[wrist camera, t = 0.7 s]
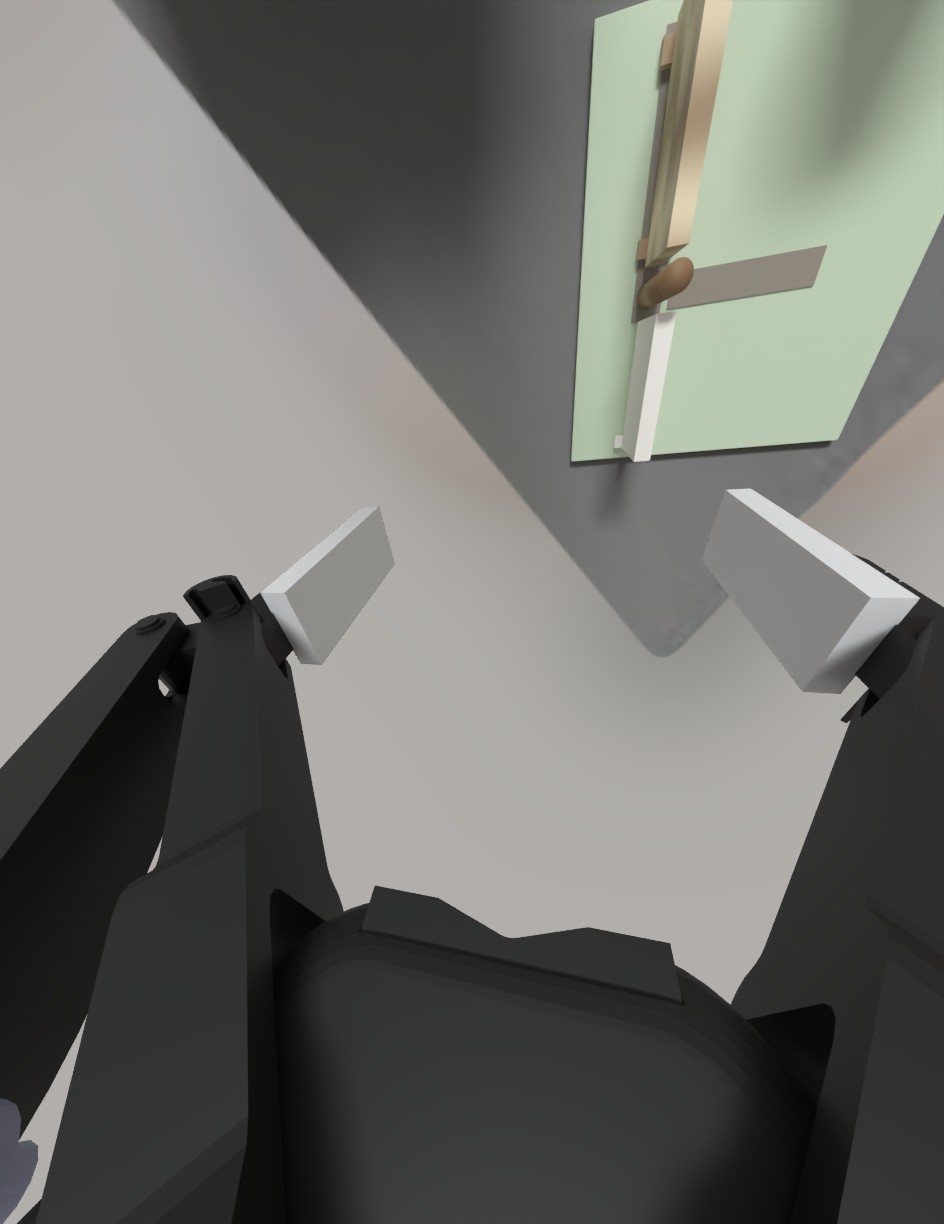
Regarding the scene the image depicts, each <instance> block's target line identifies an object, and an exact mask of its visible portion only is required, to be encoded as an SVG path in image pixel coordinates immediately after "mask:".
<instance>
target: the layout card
mask: <svg viewBox="0 0 944 1224" xmlns="http://www.w3.org/2000/svg"><path fill="white" fill-rule="evenodd" d="M683 1H684V0H649V1H646V2H643V3H640V4H637V5H635V6H632V7H629V8H626V9H623V10H620V11H617V12H614V13H611V14H608V15H605V16H602V17H599V18H596V19H595V23H594V34H593V53H592V72H591V91H590V110H589V129H588V148H587V167H586V186H585V205H584V224H583V243H582V262H581V281H580V300H579V319H578V338H577V357H576V376H575V394H574V413H573V432H572V451H571V461H583V460H595V459H607V458H620V457H629V456H628V455H627V454H626V452H625V451H624V450H623V449H622V448H614V441H615V436H616V435H623V430H624V423H625V415H626V408H627V400H628V392H629V385H630V377H631V370H632V362H633V355H634V347H635V339H636V332H637V324H638V322H639V321H641V320H643V319H646V318H648V317H651V316H653V315H655V314H660V313H666V312H672V311H677V314H676V320H675V325H674V331H673V336H672V342H671V347H670V353H669V358H668V364H667V369H666V375H665V380H664V386H663V391H662V397H661V402H660V408H659V413H658V419H657V424H656V430H655V436H654V441H653V447H652V452H651V455H657V454H669V453H681V452H694V451H706V450H718V449H731V448H743V447H755V446H768V445H780V444H792V443H805V442H817V441H829V440H838V438H839V436H840V433H841V431H842V429H843V427H844V425H845V423H846V421H847V419H848V416H849V414H850V412H851V410H852V408H853V406H854V404H855V402H856V399H857V397H858V395H859V393H860V391H861V389H862V387H863V385H864V382H865V380H866V378H867V376H868V374H869V372H870V370H871V367H872V365H873V363H874V361H875V359H876V357H877V355H878V353H879V350H880V348H881V346H882V344H883V342H884V340H885V338H886V336H887V333H888V331H889V329H890V327H891V325H892V323H893V321H894V319H895V316H896V314H897V312H898V310H899V308H900V306H901V304H902V302H903V299H904V297H905V295H906V293H907V291H908V289H909V287H910V285H911V282H912V280H913V278H914V276H915V274H916V272H917V270H918V268H919V265H920V263H921V261H922V259H923V257H924V255H925V253H926V251H927V248H928V246H929V244H930V242H931V240H932V238H933V236H934V233H935V231H936V229H937V227H938V225H939V223H940V221H941V219H942V216H943V214H944V0H733V5H732V10H731V16H730V21H729V27H728V32H727V38H726V44H725V49H724V55H723V60H722V66H721V71H720V77H719V82H718V88H717V93H716V99H715V104H714V110H713V115H712V121H711V126H710V132H709V137H708V143H707V148H706V154H705V159H704V165H703V171H702V176H701V182H700V187H699V193H698V198H697V204H696V209H695V215H694V220H693V226H692V231H691V237H690V242H689V244H688V245H686V246H685V247H684V248H683V249H681V250H680V251H679V252H678V253H676V254H675V255H674V256H673V257H672V258H670V259H669V260H668V261H667V262H665V263H664V264H663V265H658V266H652V267H647V268H645V263H646V260H641V261H636V255H637V246H638V241H639V240H641V239H646V238H649V233H650V225H651V218H652V210H653V203H654V195H655V187H656V180H657V172H658V165H659V157H660V149H661V142H662V134H663V127H664V119H665V111H666V104H667V96H668V89H669V81H670V74H671V68H669V69H666V70H662V71H659V62H660V54H661V45H662V40H663V37H664V35H666V34H669V33H672V32H675V31H676V28H677V20H678V14H679V12H680V9H681V6H682V4H683ZM658 71H659V72H658ZM680 257H687V258H689V259H690V260H691V261H692V263H693V266H694V273H693V277H692V280H691V282H690V284H689V285H688V286H687V288H686V289H685V290H684V291H682V292H681V293H679V294H677V295H675V296H673V297H671V298H669V299H667V300H665V301H663V302H661V303H659V304H657V305H655V306H653V307H651V308H649V309H641V308H640V307H639V306H638V304H637V295H638V292H639V290H640V288H641V287H642V285H644V284H645V283H646V282H647V281H649V280H650V279H651V278H652V277H654V276H655V275H656V274H658V273H659V272H660V271H662V270H663V269H664V268H665V267H667V266H668V265H669V264H671V263H672V262H673V261H675V260H676V259H678V258H680Z"/></svg>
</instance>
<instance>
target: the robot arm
mask: <svg viewBox="0 0 944 1224" xmlns="http://www.w3.org/2000/svg"><path fill="white" fill-rule="evenodd" d="M702 561H703V563H704V564H705V565H706V566H707V568H708V569H709V570H710V572H711V573H712V574H713V576H714V577H715V578H716V579H717V581H718V582H719V583H720V585H721V586H722V587H723V589H724V590H725V591H726V593H727V594H728V595H729V596H730V598H731V599H732V600H733V602H734V603H735V604H736V605H737V607H738V608H739V609H740V611H741V612H742V613H743V615H744V616H745V617H746V619H747V620H748V621H749V622H750V624H751V625H752V626H753V628H754V629H755V630H756V632H757V633H758V634H759V635H760V637H761V638H762V639H763V641H764V642H765V643H766V645H767V646H768V647H769V649H770V650H771V651H772V652H773V654H774V655H775V656H776V658H777V659H778V660H779V662H780V663H781V664H782V665H783V667H784V668H785V669H786V671H787V672H788V673H789V674H790V676H791V677H792V678H793V680H794V681H795V682H796V684H797V685H798V686H799V688H800V689H801V690H802V692H818V693H837V694H840V693H842V691H843V690H844V689H845V688H846V686H847V685H848V684H849V683H850V682H851V681H852V679H853V678H854V677H855V676H857V677H858V678H859V679H860V680H861V681H862V682H863V683H864V684H865V685H866V686H867V687H868V688H869V689H868V690H867V691H866V692H865V693H864V694H863V695H862V696H861V698H860V699H859V700H858V701H857V702H856V703H855V704H854V705H853V707H852V708H851V709H850V710H849V711H848V712H847V713H846V714H845V715H844V716H843V718H842V719H841V721H843V722H845V723H847V722H848V721H850V720H851V721H850V724H849V726H848V729H847V731H846V734H845V737H844V739H843V742H842V745H841V747H840V750H839V752H838V755H837V758H836V760H835V763H834V766H833V768H832V771H831V774H830V776H829V779H828V782H827V784H826V787H825V790H824V793H823V795H822V797H821V800H820V803H819V805H818V808H817V811H816V813H815V816H814V818H813V821H812V824H811V827H810V829H809V832H808V834H807V837H806V840H805V842H804V845H803V848H802V850H801V853H800V856H799V858H798V861H797V863H796V866H795V869H794V871H793V874H792V877H791V879H790V882H789V884H788V887H787V890H786V892H785V895H784V898H783V900H782V903H781V906H780V908H779V911H778V914H777V916H776V919H775V921H774V924H773V927H772V929H771V932H770V935H769V937H768V940H767V942H766V945H765V947H764V950H763V952H762V954H761V956H760V958H759V959H758V961H757V963H756V964H755V965H754V967H753V968H752V969H751V970H750V972H749V973H748V974H747V975H746V977H745V978H744V980H743V982H742V983H741V985H740V986H739V988H738V990H737V992H736V994H735V996H734V998H733V1001H732V1003H731V1005H730V1004H729V1003H727V1002H726V1001H725V1000H724V999H723V998H722V997H720V996H719V995H718V994H717V993H715V992H714V991H713V990H712V989H711V988H709V987H708V986H707V985H705V984H704V983H703V982H701V981H700V980H698V979H697V978H695V977H694V976H692V975H691V974H689V973H688V972H686V971H685V970H683V969H681V968H679V967H678V966H676V965H674V959H673V955H672V950H671V945H670V943H665V942H660V941H655V940H650V939H645V938H639V937H635V936H630V935H625V934H619V933H614V932H609V931H604V930H599V929H594V928H589V927H588V928H581V929H574V930H567V931H560V932H553V933H547V934H540V935H533V936H527V937H520V938H507V937H504V936H502V935H500V934H498V933H497V932H495V931H493V930H492V929H490V928H488V927H486V926H485V925H483V924H481V923H480V922H478V921H476V920H475V919H473V918H471V917H469V916H468V915H466V914H464V913H462V912H461V911H459V910H457V909H456V908H454V907H453V906H451V905H449V904H448V903H446V902H444V901H442V900H441V899H439V898H435V897H430V896H425V895H420V894H415V893H410V892H404V891H400V890H395V889H389V888H384V887H379V886H375V887H374V890H373V893H372V897H371V900H370V903H367V904H363V905H361V906H357V907H354V908H351V909H349V910H347V911H345V912H344V911H343V907H342V904H341V901H340V898H339V895H338V893H337V891H336V889H335V886H334V884H333V882H332V880H331V877H330V874H329V871H328V867H327V862H326V857H325V851H324V846H323V841H322V835H321V829H320V824H319V818H318V813H317V807H316V802H315V797H314V792H313V786H312V780H311V775H310V770H309V764H308V758H307V753H306V747H305V742H304V736H303V731H302V725H301V720H300V715H299V709H298V704H297V699H296V693H295V687H294V682H293V676H292V671H291V666H290V665H289V663H288V661H287V660H286V657H287V656H288V655H289V654H290V653H291V652H292V650H293V651H294V652H295V654H296V656H297V658H298V660H299V661H300V663H301V664H318V665H322V664H323V662H324V661H325V660H326V658H327V657H328V656H329V654H330V653H331V651H332V650H333V649H334V647H335V646H336V644H337V643H338V641H339V640H340V639H341V637H342V636H343V635H344V633H345V632H346V630H347V629H348V628H349V626H350V625H351V624H352V622H353V621H354V619H355V618H356V617H357V615H358V614H359V612H360V611H361V610H362V608H363V607H364V605H365V604H366V603H367V601H368V600H369V599H370V597H371V596H372V594H373V593H374V592H375V590H376V589H377V587H378V586H379V585H380V583H381V582H382V580H383V579H384V578H385V576H386V575H387V574H388V572H389V571H390V569H391V568H392V567H393V565H394V560H393V556H392V552H391V549H390V545H389V541H388V538H387V534H386V531H385V527H384V523H383V519H382V516H381V512H380V508H379V506H378V507H377V506H376V507H362V508H361V509H360V510H359V511H357V512H356V513H355V514H354V515H353V516H351V517H350V518H349V519H348V520H347V521H345V522H344V523H343V524H342V525H341V526H339V527H338V528H337V529H336V530H335V531H333V532H332V533H331V534H330V535H329V536H328V537H326V538H325V539H324V540H323V541H322V542H320V543H319V544H318V545H317V546H315V547H314V548H313V549H312V550H311V551H310V552H308V553H307V554H306V555H305V556H303V557H302V558H301V559H300V560H299V561H297V562H296V563H295V564H294V565H293V566H291V567H290V568H289V569H288V570H286V571H285V572H284V573H283V574H282V575H281V576H279V577H278V578H277V579H276V580H274V581H273V582H272V583H271V584H270V585H268V586H267V587H266V588H265V589H264V590H262V591H261V592H260V593H259V594H258V595H256V596H255V597H254V598H253V599H252V600H250V598H249V597H248V595H247V593H246V592H245V590H244V589H243V587H242V585H241V584H240V582H239V580H238V579H237V577H236V576H232V575H224V576H219V577H214V578H211V579H208V580H205V581H203V582H201V583H199V584H197V585H195V586H193V587H191V588H190V589H189V590H187V591H186V593H185V594H184V595H183V597H184V598H185V600H186V601H187V602H188V604H189V605H190V606H191V608H192V609H193V611H194V612H195V613H196V615H197V616H198V617H199V619H200V620H201V623H195V624H190V625H185V624H184V623H183V622H182V620H181V619H180V618H179V617H178V615H177V614H176V613H171V612H168V613H161V614H158V615H151V616H148V617H146V618H143V619H141V620H139V621H138V622H137V623H136V624H134V625H133V626H131V627H130V628H128V629H127V630H126V631H125V632H124V633H123V634H122V635H121V636H120V637H119V638H118V639H117V641H116V642H115V643H114V644H113V645H112V646H111V647H110V648H109V649H108V651H107V652H106V653H105V654H104V655H103V656H102V657H101V658H100V659H99V660H98V662H97V663H96V664H95V665H94V666H93V667H92V668H91V669H90V670H89V671H88V673H87V674H86V675H85V676H84V677H83V678H82V679H81V680H80V681H79V682H78V684H77V685H76V686H75V687H74V688H73V689H72V690H71V691H70V692H69V694H68V695H67V696H66V697H65V698H64V699H63V700H62V701H61V702H60V703H59V705H58V706H57V707H56V708H55V709H54V710H53V711H52V712H51V713H50V715H49V716H48V717H47V718H46V719H45V720H44V721H43V722H42V723H41V724H40V725H39V727H38V728H37V729H36V730H35V731H34V732H33V733H32V734H31V735H30V737H29V738H28V739H27V740H26V741H25V742H24V743H23V745H21V746H20V748H19V749H18V750H17V751H16V752H15V753H14V754H13V755H12V756H11V758H10V759H9V760H8V761H7V762H6V763H5V764H4V765H3V767H1V769H0V1224H3V1223H4V1221H5V1220H6V1219H7V1218H8V1216H9V1215H10V1214H11V1213H12V1211H13V1210H14V1209H15V1208H16V1207H17V1205H18V1203H19V1201H20V1200H21V1198H22V1196H23V1194H24V1193H25V1191H26V1189H27V1187H28V1186H29V1184H30V1182H31V1179H32V1176H33V1173H34V1170H35V1168H36V1165H37V1161H38V1145H36V1144H35V1143H34V1142H32V1141H31V1140H29V1141H22V1142H18V1141H19V1139H20V1138H21V1136H22V1134H23V1133H24V1131H25V1129H26V1127H27V1126H28V1124H29V1122H30V1121H31V1119H32V1117H33V1116H34V1114H35V1112H36V1110H37V1109H38V1107H39V1105H40V1104H41V1102H42V1100H43V1098H44V1097H45V1095H46V1093H47V1092H48V1090H49V1088H50V1086H51V1084H52V1082H53V1081H54V1079H55V1077H56V1075H57V1073H58V1071H59V1069H60V1067H61V1065H62V1063H63V1061H64V1060H65V1058H66V1056H67V1054H68V1052H69V1050H70V1048H71V1046H72V1044H73V1042H74V1040H75V1039H76V1037H77V1034H78V1033H79V1031H80V1029H81V1026H82V1024H83V1022H84V1020H85V1018H86V1015H87V1018H86V1022H85V1027H84V1031H83V1034H82V1039H81V1043H80V1047H79V1051H78V1055H77V1059H76V1063H75V1067H74V1071H73V1075H72V1079H71V1083H70V1087H69V1091H68V1095H67V1099H66V1104H65V1107H64V1111H63V1115H62V1120H61V1124H60V1128H59V1131H58V1135H57V1139H56V1144H55V1148H54V1152H53V1156H52V1160H51V1164H50V1168H49V1172H48V1176H47V1180H46V1184H45V1188H44V1192H43V1196H42V1199H41V1200H40V1201H39V1202H38V1203H37V1204H36V1205H35V1206H34V1207H33V1208H32V1209H31V1210H30V1211H29V1212H28V1213H27V1214H26V1215H25V1216H24V1217H23V1218H22V1219H21V1220H20V1221H19V1222H18V1223H17V1224H944V607H942V606H941V605H939V604H937V603H936V602H934V601H933V600H931V599H929V598H928V597H926V596H925V595H923V594H922V593H920V592H918V591H917V590H915V589H913V588H912V587H911V586H909V585H907V584H906V583H904V582H899V579H898V578H896V577H895V576H893V575H891V574H890V573H885V570H884V569H882V568H880V567H879V566H877V565H876V564H874V563H873V562H871V561H869V560H867V559H865V558H862V557H859V556H857V555H854V554H852V553H849V552H848V551H846V550H845V549H843V548H842V547H840V546H839V545H837V544H835V543H834V542H833V541H831V540H829V539H828V538H826V537H825V536H823V535H822V534H820V533H819V532H817V531H816V530H814V529H812V528H811V527H809V526H808V525H806V524H805V523H803V522H802V521H800V520H799V519H797V518H795V517H794V516H792V515H791V514H789V513H788V512H786V511H785V510H783V509H781V508H780V507H778V506H777V505H775V504H774V503H772V502H771V501H769V500H768V499H766V498H764V497H763V496H761V495H760V494H758V493H757V492H755V491H754V490H752V489H734V490H725V493H724V496H723V499H722V502H721V505H720V508H719V511H718V514H717V517H716V520H715V523H714V526H713V529H712V532H711V535H710V538H709V541H708V544H707V547H706V549H705V552H704V555H703V558H702ZM158 679H160V680H161V681H162V682H163V683H164V684H165V685H166V686H167V687H168V689H169V691H168V693H167V695H166V696H164V695H163V694H162V692H161V690H160V689H159V685H158ZM162 836H163V837H162ZM161 838H162V844H161V849H160V855H159V859H158V862H157V865H156V867H155V868H154V869H153V871H151V872H149V873H147V872H148V869H149V867H150V865H151V862H152V860H153V857H154V855H155V853H156V850H157V848H158V846H159V843H160V841H161ZM87 1013H88V1014H87Z"/></svg>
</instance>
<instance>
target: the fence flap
mask: <svg viewBox="0 0 944 1224" xmlns="http://www.w3.org/2000/svg"><path fill="white" fill-rule="evenodd" d="M676 314H677V311H672V312H666V313H660V314H655V315H653V316H651V317H648V318H646V319H643V320H641V321H639V322H638V324H637V332H636V339H635V347H634V355H633V362H632V370H631V377H630V385H629V392H628V400H627V408H626V415H625V423H624V430H623V435H616V436H615V441H614V448H622V449H623V450H624V451H625V452H626V454H627V455H628V456H629V457H630V458H631V459H632V460H633V462H639V461H650V458H651V452H652V447H653V441H654V436H655V430H656V424H657V419H658V413H659V408H660V402H661V397H662V391H663V386H664V380H665V375H666V369H667V364H668V358H669V353H670V347H671V342H672V336H673V331H674V325H675V320H676Z"/></svg>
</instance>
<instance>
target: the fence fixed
mask: <svg viewBox="0 0 944 1224" xmlns="http://www.w3.org/2000/svg"><path fill="white" fill-rule="evenodd" d="M732 5H733V0H684V1H683V4H682V6H681V9H680V12H679V14H678V20H677V28H676V31H675V32H672V33H669V34H666V35H664V37H663V40H662V45H661V54H660V62H659V71H662V70H666V69H669V68H671V74H670V81H669V89H668V96H667V104H666V111H665V119H664V127H663V134H662V142H661V149H660V157H659V165H658V172H657V180H656V187H655V195H654V203H653V210H652V218H651V225H650V233H649V238H646V239H641V240H639V241H638V246H637V255H636V261H641V260H646V263H645V268H647V267H652V266H658V265H663V264H664V263H665V262H667V261H668V260H669V259H670V258H672V257H673V256H674V255H675V254H676V253H678V252H679V251H680V250H681V249H683V248H684V247H685V246H686V245H688V244H689V242H690V237H691V231H692V226H693V220H694V215H695V209H696V204H697V198H698V193H699V187H700V182H701V176H702V171H703V165H704V159H705V154H706V148H707V143H708V137H709V132H710V126H711V121H712V115H713V110H714V104H715V99H716V93H717V88H718V82H719V77H720V71H721V66H722V60H723V55H724V49H725V44H726V38H727V32H728V27H729V21H730V16H731V10H732ZM659 71H658V72H659ZM693 273H694V266H693V263H692V261H691V260H690V259H689V258H687V257H680V258H678V259H676V260H675V261H673V262H672V263H671V264H669V265H668V266H667V267H665V268H664V269H663V270H662V271H660V272H659V273H658V274H656V275H655V276H654V277H652V278H651V279H650V280H649V281H647V282H646V283H645V284H644V285H642V287H641V288H640V290H639V292H638V295H637V304H638V306H639V307H640V308H641V309H649V308H651V307H653V306H655V305H657V304H659V303H661V302H663V301H665V300H667V299H669V298H671V297H673V296H675V295H677V294H679V293H681V292H682V291H684V290H685V289H686V288H687V286H688V285H689V284H690V282H691V280H692V277H693Z"/></svg>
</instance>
